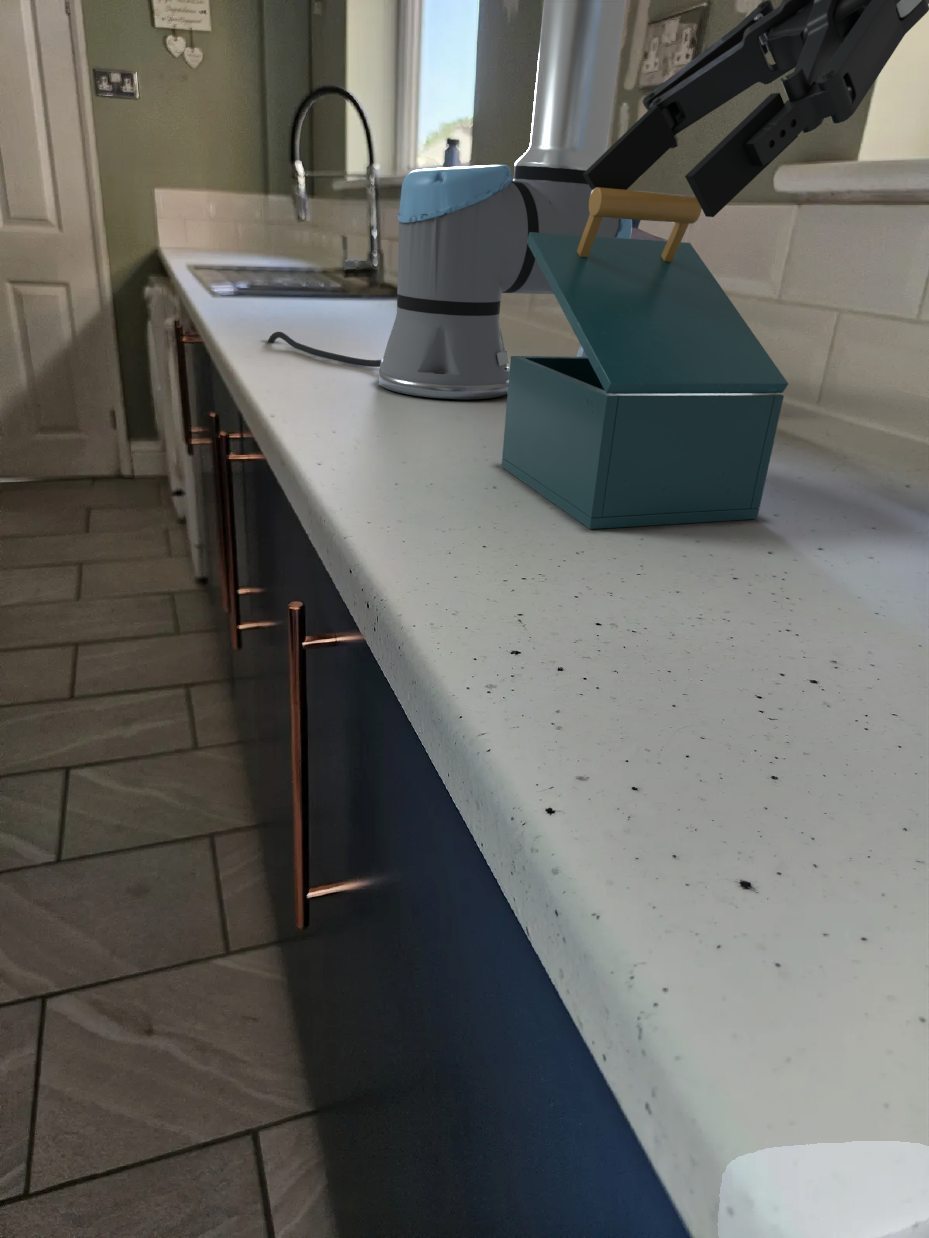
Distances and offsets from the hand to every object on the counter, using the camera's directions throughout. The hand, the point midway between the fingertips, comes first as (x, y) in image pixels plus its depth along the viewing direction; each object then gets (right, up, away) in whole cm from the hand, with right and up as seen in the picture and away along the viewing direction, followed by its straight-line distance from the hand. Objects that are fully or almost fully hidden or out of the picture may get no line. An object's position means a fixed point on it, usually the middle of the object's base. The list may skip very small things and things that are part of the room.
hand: (641, 194), depth 55 cm
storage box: (+1, -17, +12) cm, 21 cm away
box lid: (+2, -5, +6) cm, 9 cm away
